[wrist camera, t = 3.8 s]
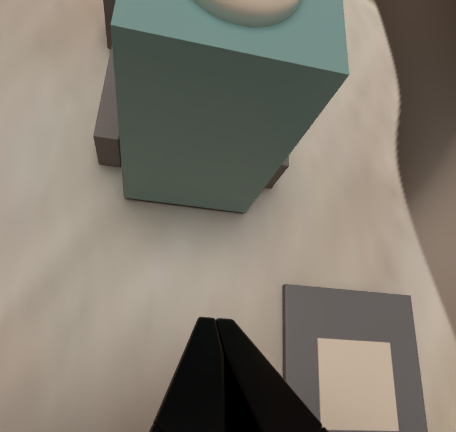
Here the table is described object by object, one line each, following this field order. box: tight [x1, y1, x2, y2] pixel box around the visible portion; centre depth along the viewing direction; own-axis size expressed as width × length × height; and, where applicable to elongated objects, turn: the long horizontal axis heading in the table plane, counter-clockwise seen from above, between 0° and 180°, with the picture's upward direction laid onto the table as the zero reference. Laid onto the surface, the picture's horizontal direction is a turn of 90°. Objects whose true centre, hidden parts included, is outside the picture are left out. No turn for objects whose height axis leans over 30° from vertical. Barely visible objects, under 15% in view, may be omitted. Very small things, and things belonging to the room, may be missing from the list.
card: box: [283, 284, 428, 432], centre depth 20 cm, size 10×8×1 cm
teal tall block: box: [111, 0, 349, 213], centre depth 17 cm, size 6×7×13 cm
